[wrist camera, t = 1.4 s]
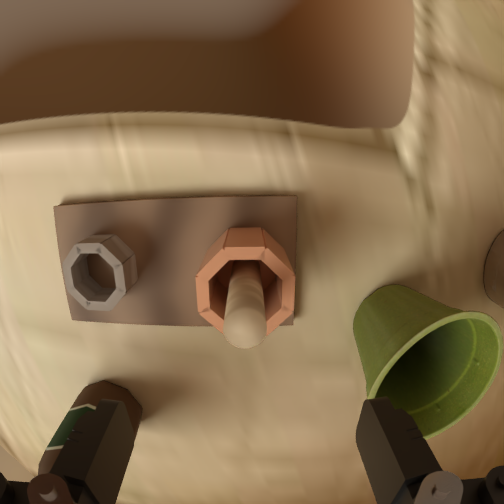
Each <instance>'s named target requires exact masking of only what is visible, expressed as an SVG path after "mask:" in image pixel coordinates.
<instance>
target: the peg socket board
mask: <svg viewBox="0 0 504 504" xmlns="http://www.w3.org/2000/svg"><path fill="white" fill-rule="evenodd" d="M54 216H55V226H56V234H57V242H58V249H59V255H60V262H61V268H62V273H63V279H64V284H65V289H66V294H67V299H68V304H69V308H70V313H71V317H72V320H77V321H90V322H105V323H121V324H141V325H168V326H213V325H212V324H210V323H209V322H208V321H207V320H206V319H204V318H203V317H202V316H201V315H200V314H199V313H200V312H198V306H197V293H196V279H195V277H196V274H197V272H198V270H199V268H200V265H201V263H202V261H203V259H204V256H205V254H206V252H207V250H208V249H209V248H210V247H211V246H212V245H213V244H214V243H215V242H216V241H217V240H218V238H219V237H220V236H221V235H222V234H223V233H224V232H225V231H226V230H227V229H229V230H230V228H249V227H261V229H262V228H263V229H264V230H265V231H266V232H267V233H268V234H269V235H270V236H271V237H272V238H273V239H274V240H276V241H277V242H278V243H279V244H280V245H281V246H282V247H283V248H284V250H285V252H286V255H287V257H288V259H289V262H290V264H291V267H292V269H293V272H294V274H295V269H296V232H297V196H295V195H250V196H202V197H174V198H152V199H134V200H117V201H103V202H89V203H77V204H65V205H58V206H54ZM292 312H293V313H292V314H291V315H290V316H289V317H288V318H287V319H285V320H284V321H283V322H282V323H281V324H280V325H279V326H282V325H293V319H294V311H292Z"/></svg>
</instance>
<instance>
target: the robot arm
mask: <svg viewBox="0 0 504 504" xmlns="http://www.w3.org/2000/svg"><path fill="white" fill-rule="evenodd" d="M484 285H485V290H486V292H487V295H488V296H489V298H490V299H491V300H492V301H494V302H495V303H497V304H498V305H500V306H501V307H502V308H504V230H503V231H502V232H501V233H500V234H499V236H498V237H497V238H496V240H495V241H494V243H493V245H492V247H491V249H490V251H489V254H488V256H487V260H486V264H485V269H484ZM67 439H68V440H67V441H66V442H65V444H64V445H63V447H62V449H61V451H60V453H59V455H58V457H57V459H56V461H55V463H54V464H53V466H52V468H51V470H50V472H49V473H45V474H40V475H38V476H36V477H34V478H33V479H32V480H31V481H30V482H17V481H7V479H6V478H5V477H4V476H3V474H2V473H0V504H115V503H116V500H117V497H118V493H119V490H120V487H121V484H122V481H123V478H124V474H125V471H126V468H127V465H128V462H129V459H130V456H131V453H132V450H133V447H134V440H135V438H134V431H133V428H132V425H131V422H130V419H129V416H128V412H127V409H126V406H125V404H124V402H123V401H116V400H108V399H101V400H100V401H99V403H98V405H97V407H96V409H95V411H94V412H93V411H87V412H86V413H85V414H84V415H82V416H81V417H80V418H79V419H78V420H77V422H76V423H75V425H74V427H73V429H72V432H70V434H69V436H68V438H67ZM356 443H357V447H358V450H359V452H360V455H361V458H362V461H363V464H364V467H365V469H366V472H367V475H368V478H369V481H370V484H371V487H372V490H373V493H374V495H375V498H376V501H377V504H504V466H498V467H495V468H493V469H492V470H491V471H490V472H489V473H488V474H487V476H486V477H485V478H477V479H467V480H461V479H459V477H458V476H456V475H455V474H453V473H451V472H448V471H443V470H442V468H441V467H440V465H439V463H438V461H437V460H436V458H435V456H434V454H433V452H432V451H431V449H430V447H429V445H428V444H427V442H426V440H425V438H423V435H422V433H421V431H420V429H419V430H418V426H417V424H416V422H415V421H414V419H413V417H412V416H411V415H409V414H408V413H407V412H406V411H404V410H403V409H402V408H400V409H394V407H393V405H392V403H391V401H390V400H389V398H388V397H380V398H373V399H367V400H365V401H364V403H363V407H362V411H361V414H360V418H359V422H358V425H357V429H356Z"/></svg>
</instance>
